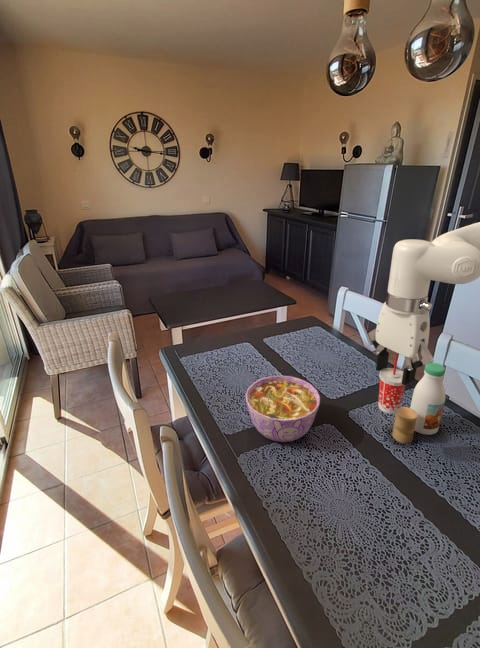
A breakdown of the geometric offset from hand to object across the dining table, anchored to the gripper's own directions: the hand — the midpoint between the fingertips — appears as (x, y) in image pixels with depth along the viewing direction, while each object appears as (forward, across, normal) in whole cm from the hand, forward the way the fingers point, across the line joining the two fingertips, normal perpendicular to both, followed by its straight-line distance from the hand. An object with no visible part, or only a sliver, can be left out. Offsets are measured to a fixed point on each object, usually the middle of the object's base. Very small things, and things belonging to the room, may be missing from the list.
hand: (393, 374), depth 81 cm
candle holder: (+25, +1, -10) cm, 27 cm away
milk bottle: (+25, +1, -19) cm, 31 cm away
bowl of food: (+25, +22, +14) cm, 36 cm away
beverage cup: (+9, 0, 0) cm, 9 cm away
